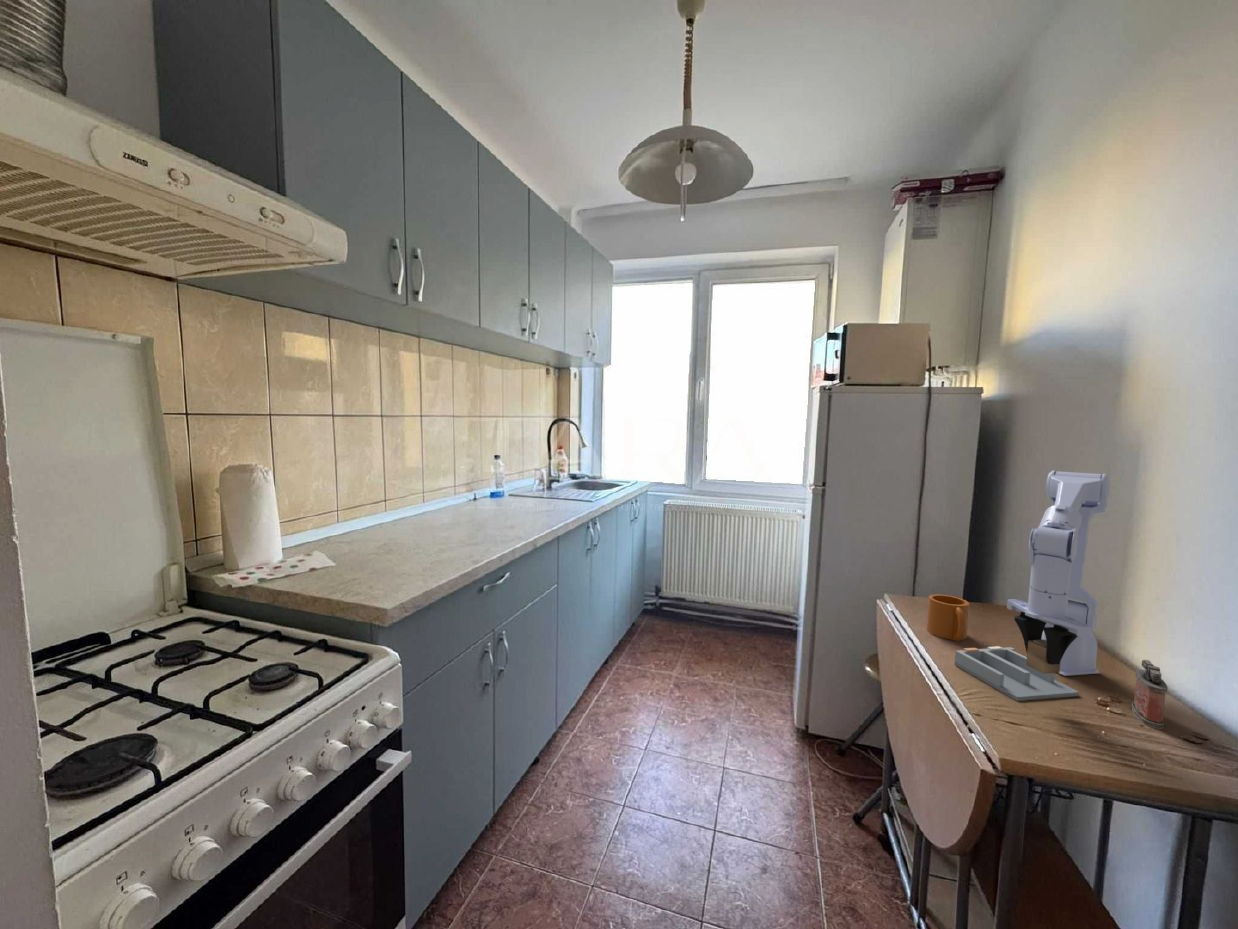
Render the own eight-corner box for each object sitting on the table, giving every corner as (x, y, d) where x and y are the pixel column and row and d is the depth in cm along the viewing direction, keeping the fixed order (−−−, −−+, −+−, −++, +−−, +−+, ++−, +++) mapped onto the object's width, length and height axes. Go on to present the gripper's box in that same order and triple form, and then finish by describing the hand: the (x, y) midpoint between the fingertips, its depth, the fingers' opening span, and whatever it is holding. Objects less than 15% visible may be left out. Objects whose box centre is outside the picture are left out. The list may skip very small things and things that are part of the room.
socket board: (1009, 661, 115) (1011, 645, 115) (1079, 695, 101) (1080, 678, 100) (954, 664, 113) (955, 649, 113) (1017, 701, 98) (1018, 682, 98)
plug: (1041, 664, 99) (1043, 638, 99) (1059, 672, 96) (1061, 645, 96) (1026, 665, 99) (1028, 639, 98) (1043, 673, 95) (1046, 646, 95)
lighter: (1168, 731, 89) (1174, 677, 89) (1141, 725, 91) (1147, 672, 90) (1151, 710, 96) (1157, 659, 95) (1127, 704, 98) (1132, 655, 97)
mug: (934, 642, 125) (936, 607, 124) (922, 625, 136) (924, 592, 136) (977, 647, 122) (978, 611, 122) (961, 629, 134) (962, 596, 133)
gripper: (996, 579, 103) (991, 643, 104) (1071, 604, 88) (1064, 678, 89) (1025, 578, 104) (1020, 641, 105) (1104, 602, 89) (1096, 676, 91)
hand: (1042, 658), depth 97 cm, fingers closed on plug, 3 cm apart
